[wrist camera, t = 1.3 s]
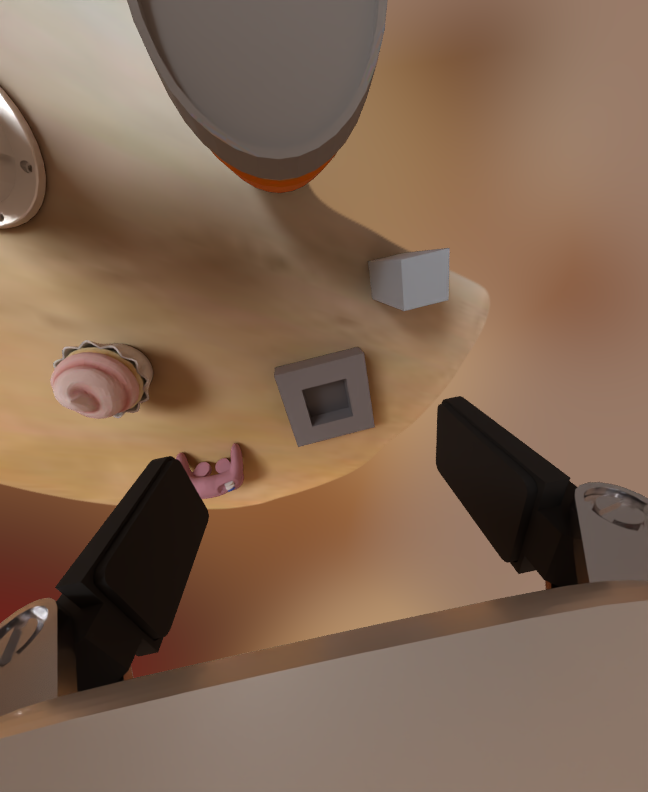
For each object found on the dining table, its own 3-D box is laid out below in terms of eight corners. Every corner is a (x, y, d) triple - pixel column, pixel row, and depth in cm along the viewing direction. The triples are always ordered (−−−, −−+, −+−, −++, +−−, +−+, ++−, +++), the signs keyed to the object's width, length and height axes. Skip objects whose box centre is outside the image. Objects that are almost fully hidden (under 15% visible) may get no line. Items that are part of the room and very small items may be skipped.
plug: (368, 261, 31) (401, 259, 22) (402, 253, 31) (449, 248, 22) (372, 299, 33) (404, 311, 24) (404, 290, 33) (448, 300, 24)
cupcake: (183, 376, 34) (147, 415, 26) (129, 410, 35) (77, 458, 27) (124, 315, 30) (58, 335, 21) (65, 355, 31) (-21, 390, 22)
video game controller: (188, 462, 43) (181, 506, 39) (173, 451, 39) (165, 498, 35) (247, 451, 43) (247, 493, 39) (239, 440, 40) (237, 485, 35)
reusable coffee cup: (355, 178, 27) (423, 94, 14) (253, 235, 28) (225, 209, 15) (301, 1, 21) (327, -430, 8) (174, 83, 22) (15, -180, 9)
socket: (274, 367, 35) (274, 375, 33) (358, 346, 36) (363, 353, 33) (297, 435, 41) (298, 446, 38) (368, 416, 41) (374, 427, 39)
